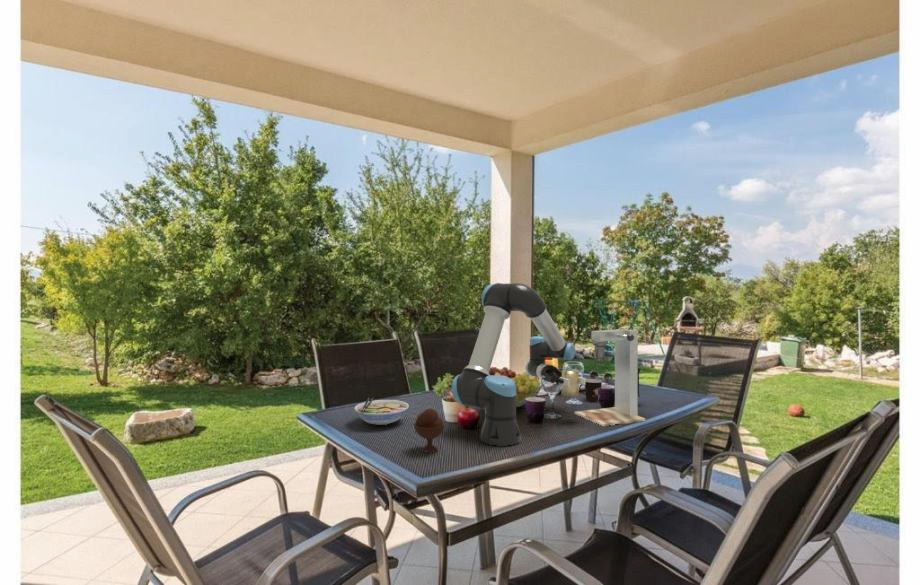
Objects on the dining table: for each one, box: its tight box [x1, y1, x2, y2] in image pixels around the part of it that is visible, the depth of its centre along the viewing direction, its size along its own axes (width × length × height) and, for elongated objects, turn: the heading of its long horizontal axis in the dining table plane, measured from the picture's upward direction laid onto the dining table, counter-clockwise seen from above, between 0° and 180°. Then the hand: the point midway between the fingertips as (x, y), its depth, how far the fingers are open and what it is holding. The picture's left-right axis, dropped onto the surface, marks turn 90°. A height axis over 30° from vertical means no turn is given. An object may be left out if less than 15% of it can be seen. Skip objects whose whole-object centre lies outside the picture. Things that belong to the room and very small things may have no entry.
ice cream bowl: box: [413, 408, 446, 452], centre depth 164 cm, size 11×11×15 cm
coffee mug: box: [579, 378, 603, 403], centre depth 233 cm, size 12×9×10 cm
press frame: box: [590, 328, 639, 416], centre depth 201 cm, size 19×16×37 cm
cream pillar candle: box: [561, 368, 580, 397], centre depth 197 cm, size 7×7×10 cm
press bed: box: [574, 406, 647, 427], centre depth 204 cm, size 22×20×1 cm
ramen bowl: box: [354, 396, 410, 426], centre depth 197 cm, size 25×23×8 cm
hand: (576, 382), depth 192 cm, fingers closed on cream pillar candle, 7 cm apart
